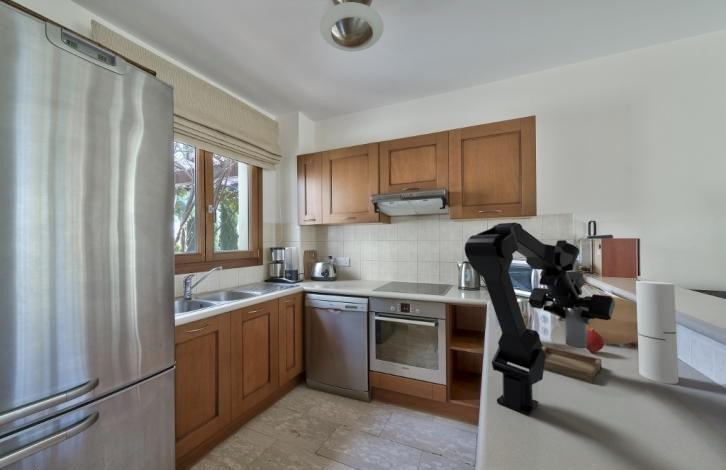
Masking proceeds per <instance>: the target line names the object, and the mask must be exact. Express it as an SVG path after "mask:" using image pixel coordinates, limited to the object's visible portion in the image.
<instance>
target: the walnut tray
mask: <svg viewBox="0 0 726 470" xmlns="http://www.w3.org/2000/svg"><path fill="white" fill-rule="evenodd" d="M542 349H543V351H544V353H545V365H544V371H546V372H550V373H554V374H557V375H560V376H564V377H568V378H571V379H575V380H577V381H582V382H584V383H588V384H590V385H591V384H593V382H594V381H595V379H596V378H597V376H598V375H599V373H600V371H602V359H601V358H598V357H593V356H589V355H585V354H581V353H577V352H572V351H569V350H565V349H561V348H554V347H551V346H547V345H543V347H542Z"/></svg>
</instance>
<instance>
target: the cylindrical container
mask: <svg viewBox="0 0 726 470" xmlns="http://www.w3.org/2000/svg"><path fill="white" fill-rule="evenodd" d="M635 289H636V290H635V293H636V294H635V295H636V319H637V344H638V345H637V347H638V350H637V351H638V370H639V372H638V374H639V375H641V377H644V378H645V379H647V380H652V381H654V382H657V383H658V382H659V383H662V384H668V385H671V384H672V385H673V384H674V385H677V384H679V366H678V365H679V364H678V360H679V359H678V344H677V343H678V341H677V340H678V338H677V337H678V336H677V320H676V318H677V317H676V297H675V296H676V295H675V294H676V292H675V283H672V282H667V281H666V282H664V281H654V280H653V281H651V280H636V281H635Z"/></svg>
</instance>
